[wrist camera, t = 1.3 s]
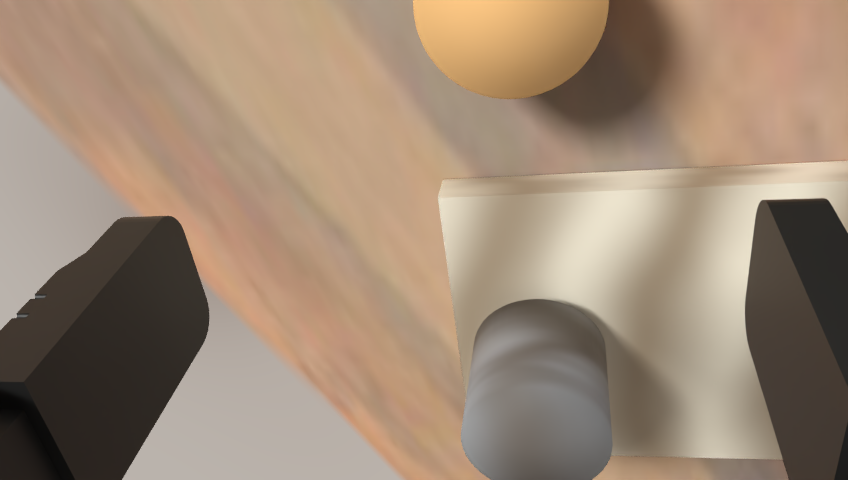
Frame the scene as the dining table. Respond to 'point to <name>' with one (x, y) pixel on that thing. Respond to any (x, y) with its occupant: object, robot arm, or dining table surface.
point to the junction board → (612, 313)
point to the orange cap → (510, 42)
